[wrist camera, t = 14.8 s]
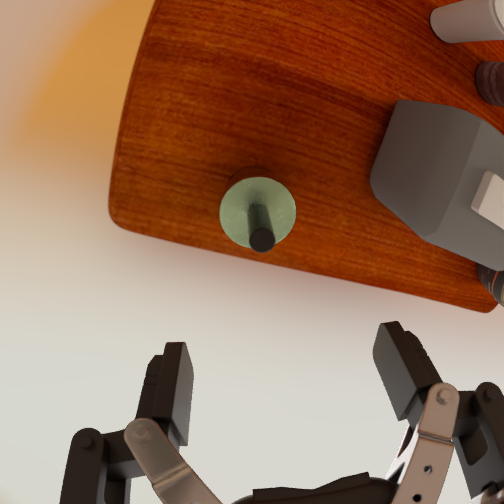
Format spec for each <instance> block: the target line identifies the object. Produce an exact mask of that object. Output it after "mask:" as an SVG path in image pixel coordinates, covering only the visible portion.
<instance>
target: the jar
mask: <svg viewBox="0 0 504 504" xmlns="http://www.w3.org/2000/svg"><path fill="white" fill-rule="evenodd" d="M477 274H478V277H479V279H480V281H481V283H482V285H483V286H484V287H485V288H486V289H487V290H488V291H489V292H490V293H491V295H492V296H493V298H494V299H495V300H496V301H498V303H499V304H501V305H502V306H503V307H504V270H503V271H495V270H493V269H491V268H488V267H486V266H484V265H482V264H479V263H478V264H477Z"/></svg>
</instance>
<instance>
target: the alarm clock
mask: <svg viewBox="0 0 504 504" xmlns="http://www.w3.org/2000/svg"><path fill="white" fill-rule="evenodd" d="M369 182H370V185H371V188H372V190H373V193H374V195H375V198H377V199H378V200H379V201H380V202H381V203H383V204H384V205H385V206H386V207H387V208H388V209H389V210H391V211H392V212H393V213H394V214H395V215H396V216H397V217H399V218H400V219H401V220H402V221H403V222H404V223H405V224H406V225H407V226H409V227H410V228H411V229H412V230H413V231H414V232H415V233H416V234H417V235H419V236H420V237H421V238H422V239H423V240H424V241H426V242H429V243H432V244H434V245H437V246H439V247H441V248H444V249H446V250H449V251H451V252H454V253H456V254H458V255H461V256H463V257H465V258H468V259H470V260H472V261H475V262H477V263H479V264H482V265H484V266H486V267H488V268H491V269H493V270H495V271H503V270H504V136H503V135H502V134H501V133H500V132H499V131H498V130H496V129H495V128H494V127H493V126H491V125H490V124H488V123H487V122H486V121H484V120H483V119H481V118H479V117H477V116H475V115H473V114H471V113H469V112H467V111H465V110H462V109H459V108H456V107H452V106H447V105H441V104H434V103H427V102H419V101H410V100H397V102H396V105H395V108H394V111H393V114H392V117H391V119H390V122H389V125H388V128H387V130H386V133H385V136H384V138H383V141H382V144H381V146H380V149H379V151H378V154H377V156H376V159H375V162H374V164H373V167H372V169H371V174H370V180H369Z"/></svg>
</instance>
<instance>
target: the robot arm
mask: <svg viewBox="0 0 504 504" xmlns="http://www.w3.org/2000/svg"><path fill="white" fill-rule="evenodd" d="M373 359H374V362H375V364H376V367H377V369H378V371H379V374H380V376H381V379H382V381H383V383H384V386H385V389H386V391H387V394H388V396H389V398H390V401H391V404H392V406H393V409H394V411H395V414H396V416H397V419H398V421H401V420H404V419H407V420H408V422H409V424H408V426H407V429H406V431H405V434H404V437H403V439H402V442H401V444H400V447H399V450H398V452H397V454H396V457H395V459H394V461H393V463H392V465H391V467H390V468H389V470H388V472H387V474H386V475H385V478H384V479H382V478H376V477H369V473H368V472H364V473H360V474H356V475H352V476H347V477H343V478H340V479H338V480H335V481H333V482H331V483H329V484H326V485H323V486H321V487H319V488H316V489H297V488H287V487H276V488H265V489H253V495H249V496H246V497H244V498H241V499H239V500H237V501H235V502H234V503H232V504H437V501H438V498H439V496H440V493H441V490H442V487H443V484H444V481H445V478H446V475H447V472H448V468H449V465H450V461H451V458H452V454H453V450H454V446H455V449H456V452H457V455H458V458H459V461H460V464H461V467H462V470H463V473H464V476H465V479H466V483H467V486H468V490H469V493H470V496H471V501H470V503H469V504H504V396H503V394H502V392H501V390H500V388H499V387H498V386H497V385H495V384H493V383H491V382H484V383H481V384H480V385H479V386H478V387H477V389H476V390H475V391H457V389H456V388H455V387H454V386H452V385H450V384H448V383H443V381H442V380H441V378H440V376H439V374H438V372H437V370H436V369H435V367H434V365H433V363H432V361H431V360H430V358H429V356H427V353H426V351H425V349H423V346H422V344H421V342H420V341H419V339H418V338H417V337H416V336H415V335H414V334H412V333H411V332H410V331H404V330H403V328H402V326H401V325H400V323H399V322H398V321H393V322H387V323H381V324H380V326H379V328H378V332H377V337H376V340H375V343H374V347H373ZM193 380H194V374H193V366H192V363H191V359H190V356H189V353H188V350H187V346H186V343H185V342H167V343H166V345H165V349H164V354H163V355H155V356H154V357H153V359H152V360H151V361H150V363H149V364H148V367H147V371H146V377H145V379H144V385H143V388H142V392H141V396H140V401H139V405H138V409H137V414H136V417H135V419H134V420H133V421H132V422H130V423H129V424H128V425H127V427H126V428H125V429H123V430H120V431H116V432H111V433H106V434H101V433H100V432H99V431H98V430H96V429H93V428H84V429H81V430H80V431H78V432H77V433H76V434H75V435H74V436H73V438H72V441H71V446H70V450H69V455H68V459H67V464H66V469H65V475H64V479H63V485H62V491H61V497H60V503H59V504H129V503H130V489H131V478H135V477H140V476H145V475H146V476H147V478H148V479H149V480H150V482H151V484H152V488H153V490H154V491H155V493H156V494H157V496H158V497H159V498H160V500H161V501H162V503H163V504H222V503H221V501H220V500H219V499H218V498H217V497H216V496H215V495H214V494H213V493H212V492H211V490H210V489H209V488H208V487H207V486H206V485H205V484H204V483H203V481H202V480H201V479H200V478H199V477H198V475H197V474H196V473H195V472H194V471H193V469H192V468H191V467H190V466H189V465H188V464H187V463H186V462H185V460H184V459H183V458H182V456H181V455H180V454H179V446H187V445H188V432H189V422H190V411H191V400H192V389H193ZM451 438H452V441H453V442H451Z"/></svg>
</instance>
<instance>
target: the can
mask: <svg viewBox="0 0 504 504" xmlns="http://www.w3.org/2000/svg"><path fill="white" fill-rule="evenodd" d="M476 85H477V88H478V91H479V93H480V95H481V96H482V97H483V98H484V100H485V101H486V102H488V103H489V104H491V105H496V106H501V107H504V62H495V61H486V62H483V63H482V64H480V66H479V67H478V69H477V71H476Z"/></svg>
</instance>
